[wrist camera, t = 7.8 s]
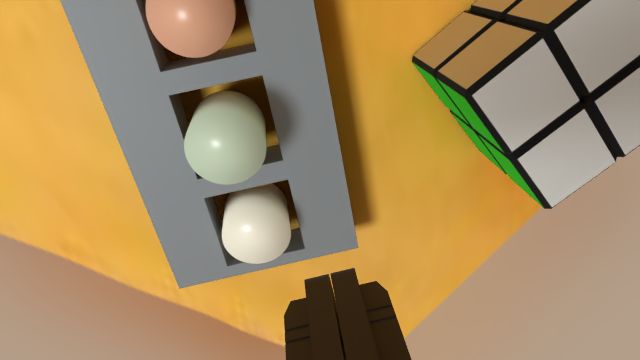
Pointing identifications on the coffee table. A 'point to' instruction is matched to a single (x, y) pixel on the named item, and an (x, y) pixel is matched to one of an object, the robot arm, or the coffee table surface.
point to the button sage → (226, 138)
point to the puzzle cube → (542, 87)
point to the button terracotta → (191, 24)
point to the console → (172, 124)
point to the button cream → (256, 224)
